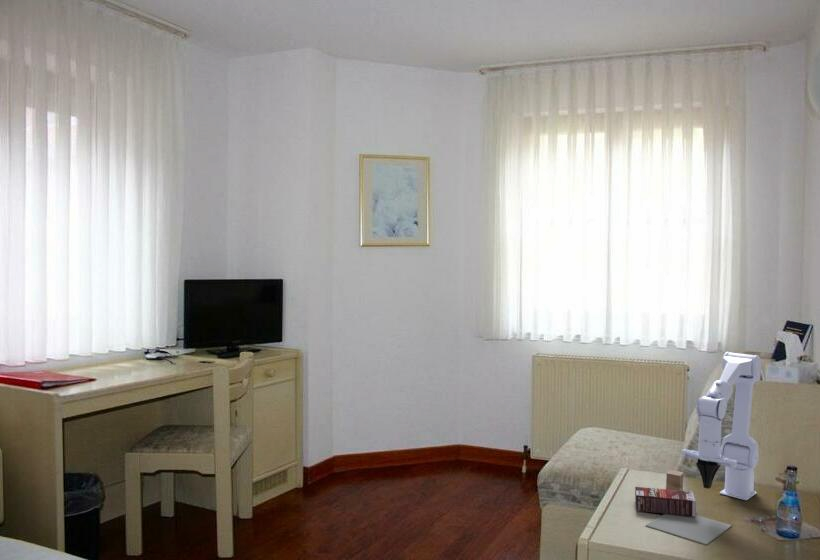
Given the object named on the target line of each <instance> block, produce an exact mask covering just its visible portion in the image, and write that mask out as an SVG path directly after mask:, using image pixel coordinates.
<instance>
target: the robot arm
mask: <svg viewBox="0 0 820 560" xmlns="http://www.w3.org/2000/svg"><path fill="white" fill-rule="evenodd" d="M762 364H763V362H762V359H761V357H760V356H759V354H747V353H737V352H730V351H726V352H725V353H724V354H723V356H722V358H721V368H722V372H721V374H720V375H721V376H720V377H719V380H718V379H717V380H715V381H713V382H712V384H711V385H710V387H709V389H708V391H707V393H706V394H705V395H703V396H701V397H700V398H698V399H697V403H696V409H695V410H696V414H697V422H698V423H699V424H698V444H697V445H698V448H697V450H692V449H687V448H684V449H681V457H682V458H689V459H693V460H697V461H696V463H695V464H696V465H695V466H696V468H697V469H698V471H699V473H700V477H701V480H702V485H703V488H705V489H711V488H712V485H713V483H714V482H713V481H714V478H715V476H716V474H717V472H718V470H719V469H720V467H721V466H724V467H725V475H724V477H725V478H724V488H723V489H722V490H721V491H719V494H720V495H723V496H727V497H732V498H736V499H738V500H739V499H740V500H743V501H748V500H749V499H750V498H752V497H753V496H755V495H756V494H757V491H754V488H755V485H754V484H755V470H754V469H755V468H756V467H757V466H758V463H759V457H760V452H759V443H758V442H757V441H756V440H755V439H754V438H753V437H752V436H750V428H751V417H752V416H751V415H752V404H753V393H754V385H755V383H757V382H760V380H761V374H762V366H763V365H762ZM734 384H735V393H734V403H733V405H734V406H733V415H732V427H731V428H732V429H731V433H729V434H727V435H725V436H724V437H723V438H722V422H723V419H724V418H725V415H726V413H727V408H728V405H727V404H728V402H729V399H730V398H731V397H732V394H733V392H734V391H733V390H734V389H733V387H732V386H734Z"/></svg>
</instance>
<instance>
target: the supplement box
mask: <svg viewBox="0 0 820 560" xmlns="http://www.w3.org/2000/svg"><path fill="white" fill-rule="evenodd" d="M634 498H635V499H634V500H635V501H634V502H635V511H636V512H644V513H645V512H646V513H654V514H655V513H656V514H663V515H664V514H674V515H683V516H692V517H695V516H696V515H697V512H696V511H697V502H696V498H695V496H694V493H693V491H692V490H691V491H690V490H683V491H679V490H667V489H666V488H665V489H664V488H654V487H653V488H652V487H645V486H644V487H641V486H635V487H634Z"/></svg>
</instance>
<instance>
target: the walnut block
mask: <svg viewBox="0 0 820 560" xmlns="http://www.w3.org/2000/svg"><path fill="white" fill-rule="evenodd" d="M665 483H666V484H665V489H667V490H679V491H684V472H683V471H678V470H672V469H669V470H668V471H667V472H666V481H665Z"/></svg>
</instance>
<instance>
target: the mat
mask: <svg viewBox="0 0 820 560" xmlns="http://www.w3.org/2000/svg"><path fill="white" fill-rule="evenodd" d="M732 526H733V524H729V523H725V522H721V521H718V520H716V519H712V518H708V517H704V516H702V515H697V514H696V516H695V517H692V516H683V515H674V514H664V513H663V514H662V515H660V516H659V517H657V518H655V519H654V520H652V521H650V522H648V523H647V524H645V527H647V528H651V529H654V530H657V531H660V532H663V533H667V534H670V535H673V536H675V537H679V538H682V539H685V540H688V541H692V542H695V543H697V544H701V545H705V546H707V545H709V544H710V543H711V542H713V541H714V540H715V539H717V538H718V537H719V536H721V535H722V534H724V533H725V532H727V530H729V529H730V528H732Z"/></svg>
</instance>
